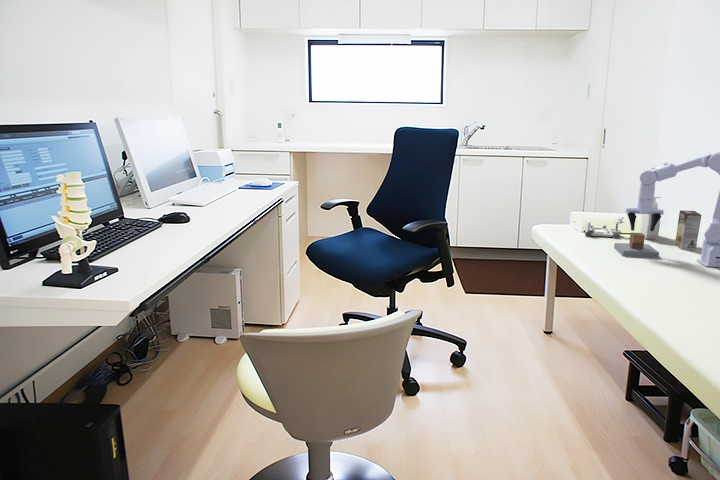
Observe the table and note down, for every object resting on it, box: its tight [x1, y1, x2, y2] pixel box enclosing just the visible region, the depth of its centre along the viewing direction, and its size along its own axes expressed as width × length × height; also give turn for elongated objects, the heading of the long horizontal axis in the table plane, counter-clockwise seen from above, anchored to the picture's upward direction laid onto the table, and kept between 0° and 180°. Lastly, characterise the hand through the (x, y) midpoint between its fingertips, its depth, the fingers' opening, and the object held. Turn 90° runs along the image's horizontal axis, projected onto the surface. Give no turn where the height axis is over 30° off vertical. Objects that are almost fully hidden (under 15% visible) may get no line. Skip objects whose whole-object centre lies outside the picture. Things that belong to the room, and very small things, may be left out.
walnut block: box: [628, 232, 646, 249], centre depth 241 cm, size 4×4×6 cm
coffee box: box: [674, 210, 702, 251], centre depth 251 cm, size 9×6×16 cm
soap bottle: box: [640, 195, 661, 241], centre depth 269 cm, size 16×5×20 cm, turn 165°
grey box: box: [613, 242, 660, 259], centre depth 242 cm, size 14×14×3 cm
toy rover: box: [584, 215, 625, 240], centre depth 274 cm, size 18×10×12 cm
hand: (641, 230), depth 240 cm, fingers open, 7 cm apart
